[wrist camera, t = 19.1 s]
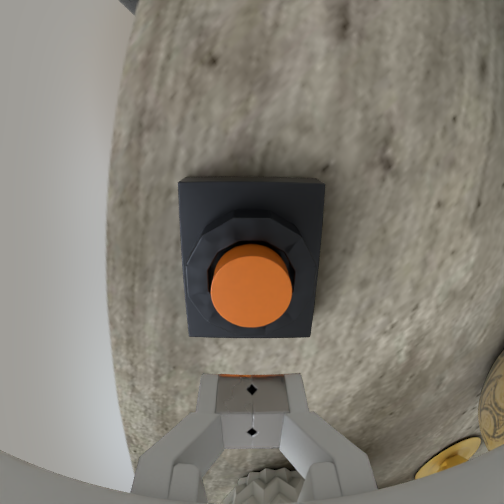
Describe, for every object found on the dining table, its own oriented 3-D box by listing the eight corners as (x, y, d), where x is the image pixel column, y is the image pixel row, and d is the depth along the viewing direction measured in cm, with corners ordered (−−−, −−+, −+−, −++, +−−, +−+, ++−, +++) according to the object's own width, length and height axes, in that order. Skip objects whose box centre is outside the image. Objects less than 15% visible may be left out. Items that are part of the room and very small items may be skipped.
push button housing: (185, 177, 19) (170, 187, 15) (317, 178, 19) (334, 189, 15) (193, 319, 22) (184, 353, 18) (305, 319, 22) (315, 354, 18)
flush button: (212, 243, 16) (209, 255, 15) (290, 243, 16) (295, 256, 15) (215, 310, 18) (212, 327, 16) (285, 310, 18) (289, 327, 16)
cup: (489, 437, 32) (502, 459, 27) (438, 479, 36) (448, 501, 31) (458, 432, 30) (473, 460, 25) (399, 480, 34) (408, 507, 29)
